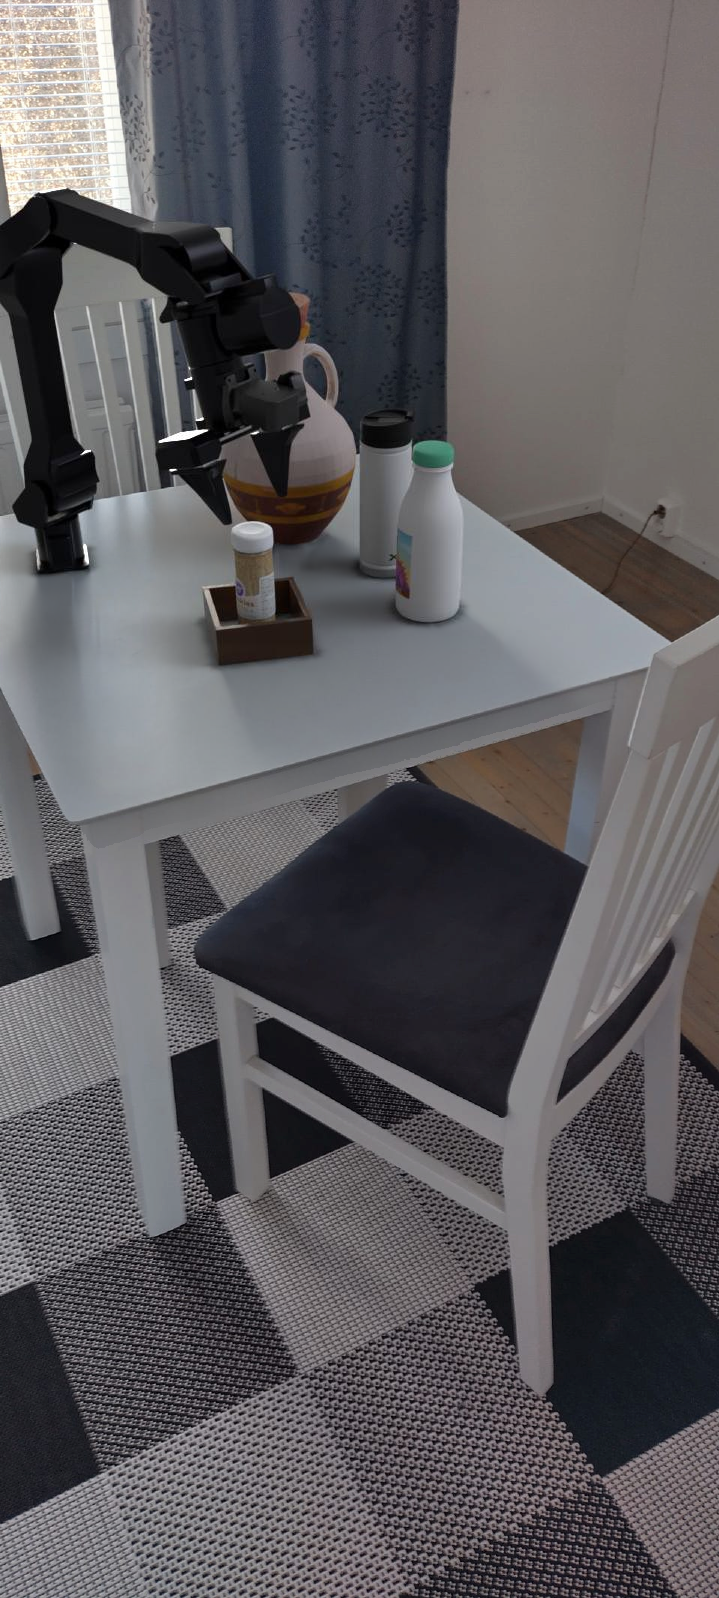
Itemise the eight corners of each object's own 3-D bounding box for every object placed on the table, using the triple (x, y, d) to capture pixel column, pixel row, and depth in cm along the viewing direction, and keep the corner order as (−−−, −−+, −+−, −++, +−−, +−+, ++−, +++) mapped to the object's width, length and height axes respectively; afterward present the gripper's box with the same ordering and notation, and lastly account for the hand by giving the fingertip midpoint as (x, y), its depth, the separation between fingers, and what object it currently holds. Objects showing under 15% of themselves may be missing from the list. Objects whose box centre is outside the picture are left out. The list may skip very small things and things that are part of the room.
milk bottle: (466, 599, 144) (476, 438, 132) (449, 628, 138) (458, 462, 126) (406, 590, 146) (410, 430, 134) (386, 618, 140) (389, 454, 128)
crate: (205, 620, 139) (202, 586, 137) (294, 610, 141) (293, 576, 139) (218, 666, 131) (215, 630, 128) (313, 654, 133) (312, 618, 130)
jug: (288, 492, 170) (279, 271, 152) (389, 522, 162) (393, 291, 144) (197, 538, 158) (176, 303, 140) (301, 573, 149) (294, 327, 131)
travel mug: (406, 580, 148) (410, 422, 136) (355, 576, 149) (354, 418, 137) (414, 559, 153) (419, 405, 141) (364, 555, 154) (365, 401, 142)
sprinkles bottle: (230, 638, 136) (222, 529, 128) (257, 623, 139) (251, 516, 131) (258, 651, 134) (252, 540, 126) (286, 636, 136) (281, 527, 128)
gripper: (209, 376, 109) (254, 538, 116) (330, 330, 121) (364, 479, 128) (130, 388, 116) (177, 540, 123) (252, 343, 128) (289, 484, 135)
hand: (256, 510), depth 127 cm, fingers open, 9 cm apart
